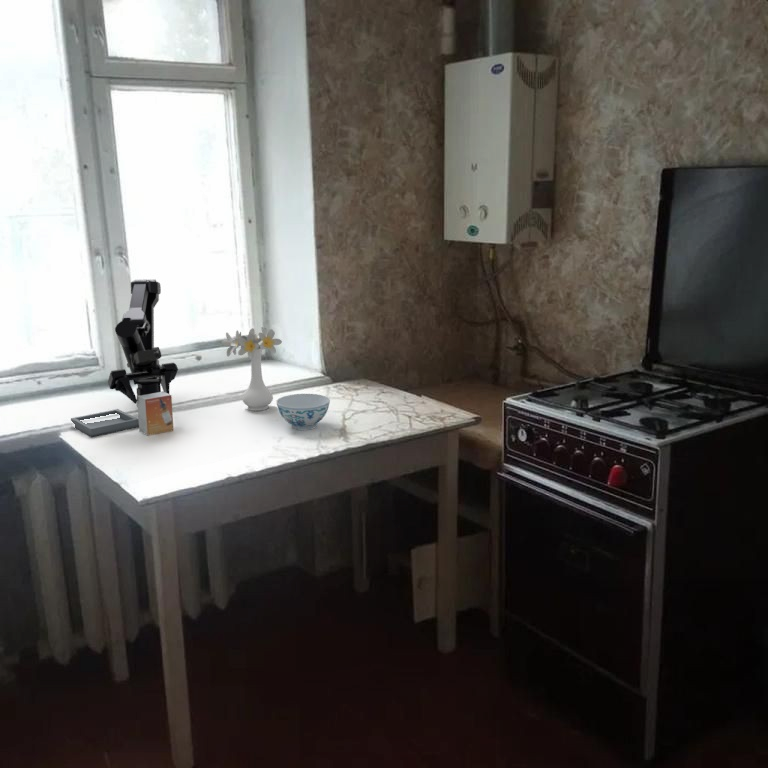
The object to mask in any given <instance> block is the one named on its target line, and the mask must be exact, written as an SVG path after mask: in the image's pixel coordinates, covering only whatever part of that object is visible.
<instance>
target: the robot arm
mask: <svg viewBox="0 0 768 768" xmlns="http://www.w3.org/2000/svg"><path fill="white" fill-rule="evenodd" d="M130 294H131V295H130V296H131V298H130V301H129V302H130V303H129V308H128V311H125V313H124V314H123V316H122V318H121V320H120V321H119V323H117V324H116V326H115V327H114V329H115V333H116V336H117V339H118V341H119V344H120V345H121V348H122V350H123V353H124V357H125V359H126V362H127V363H126V366H127V368H128V369H129V371H130V372H128V373H127V372H126V371H127V370H126V369H125V368H123V369H122V368H121V369H114V370H111V372H109V376H108V380H107V383H108V388H109V389H110V390H115V391H116V392H117V391H118V392H120V393H122V394H123V395H124V396H125V397H127V398H128V399H129V400H130V401H131V402H132V403H134V404H137V396H139V395H147V394H152V393H158V392H162V391H163V392H166V393H168V394H170V383H172V381H174V380H175V378H176V377H177V373H178V371H179V368H178V365H177V364H176V363H175V362H167V363H161V364H160V359H161V358H162V352H161V349H160V347H159V346H156V347H155V339H154V337H155V336H154V333H155V331H154V329H155V328H154V327H155V326H154V325H155V324H154V323H155V319H154V317H155V316H154V313H155V312H154V311H155V310H154V309H155V307H156V306H157V304H158V303H159V301H160V295H161V283H160V282H158V281H157V280H156V279H134V280H132V281H130ZM131 381H133V385H137V388H136V394H135V392H134V390H133V388H132V386H131ZM161 388H162V389H161Z"/></svg>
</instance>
